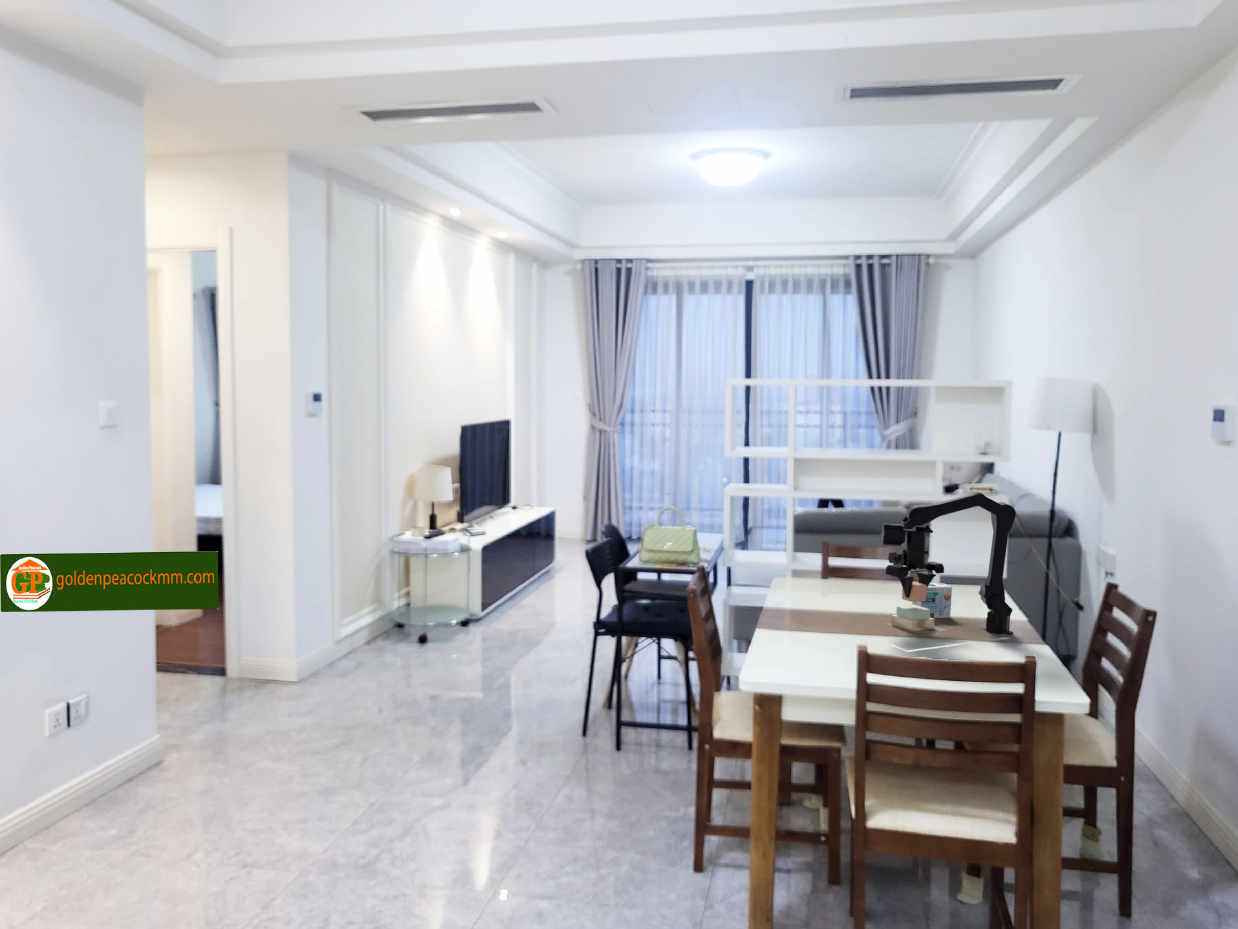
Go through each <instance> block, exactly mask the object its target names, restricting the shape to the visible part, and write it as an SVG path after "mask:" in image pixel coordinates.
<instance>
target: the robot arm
mask: <svg viewBox="0 0 1238 929" xmlns="http://www.w3.org/2000/svg"><path fill="white" fill-rule="evenodd" d="M976 507H980V508H982V509H984V510H985V511H987V512H989V513H990V516H991V525H992V539H991V541H992V542H991V550H990V556H989V563H988V573H987V578H986V579H985V581H982V580H981V581H980V582H979V583H980V584H979V585H980V587H979V588H980V589H979V591H978V595H979V596H980V600H981V601H982V602H983V604H984V605H985V606H986V608H987V610H989V611H987V612H986V613H987V616H986V620H985V623H986V624H985V628H982V631H986V632H989V633H992V634H996V635H1002V634H1004V635H1010V634H1014V631H1011V630H1010V624H1011V614H1012V613H1013V611H1014V610H1013V607H1012V608H1011V606H1010V605H1008V603H1007V602H1006V595H1005V594H1006V591H1005V585H1004V581H1003V579H1004V578H1003V577H1004V573H1005V572H1004V570H1005V564H1006V563H1005V562H1006V557H1007V555H1006V554H1007V548H1008V540H1009V539H1008V538H1009V534H1010V532H1011V530H1012V528H1013V526H1014V523H1015V519H1016V516H1017V512H1016V509H1015V508H1014V507H1013V506H1012V505H1010V504H1008V503H1006V502H1002V501H1000V502H997V501H995V500H993V499H992V498H989V497H988V496H986V495H985V494H984V493H982V492H980V491H974V492H972V493H969V494H965V495H963V496H958V497H955V498H952V499H947V500H944V501H940V502H936V503H922V504H913V505H911V506H909V507H908V508H907V510H906V513H905V517H903V519H902V520H901V521H900V522H899V524H897V523H896V524H895V523H893V524H892V523H882V528H881V532H880V541H881V542H880V543H881V546H886V547H887V546H888V547H889V546H890V547H901V546H902V545H903V544H905V542H906V546H905V548H903V549H902V553H901V554H900V553H899V554H898V553H897V552H896V551H892V552H889V553H888V558H887V559H888V562H889V564H888V565H887V566H886V567H885V574H886V575H888V576H892V577H895V578H897V579H898V580H899V582H900V584H901V587H902V589H903V590H904V593H905V596H906V597H907V598H909V596H910V593H911V588H912V583H913V582H914V576H911V573H916V575H917V578H918V583H921V584H925V585H927V587H928V585H929V584H930V583H932V581H933V580H934V578H935V577H937V575H938V574H944V573H945V566H944V564H943V563H941V562H936V561H926V555H929V550H926V548H927V534H933V533H934V530H933V529H931V527H930V525H929V524H928V523H930V522H933V521H934V520H935V519H936V520H937V518H939V517H942V516H945V515H949V514H953V513H957V512H961V511H964V510H969V509H972V508H976Z"/></svg>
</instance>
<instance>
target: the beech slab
mask: <svg viewBox="0 0 1238 929" xmlns="http://www.w3.org/2000/svg"><path fill="white" fill-rule="evenodd" d="M935 619H936V618H929V619H921V620H909V619H906V618H903V617H900V616H897V615H896V614H891V620H890V621H891V622H890V623H891V625H894V626H897V627H900V628H903V629H906V630H909V631H918V630H926V629H934V622H936V621H935Z"/></svg>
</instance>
